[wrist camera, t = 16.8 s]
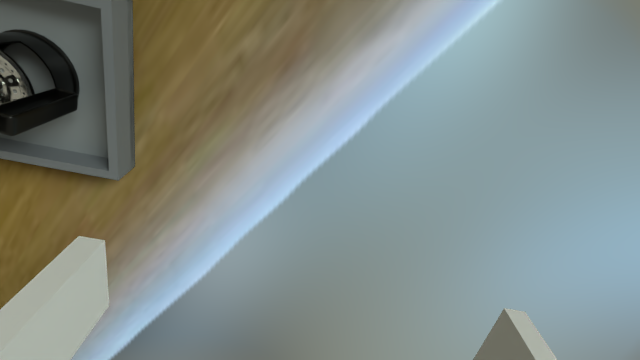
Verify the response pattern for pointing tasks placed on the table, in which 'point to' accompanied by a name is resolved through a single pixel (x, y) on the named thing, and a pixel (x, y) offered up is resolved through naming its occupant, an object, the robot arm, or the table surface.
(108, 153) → the tray
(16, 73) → the french press
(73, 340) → the robot arm
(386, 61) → the table surface
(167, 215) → the table surface
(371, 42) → the table surface
